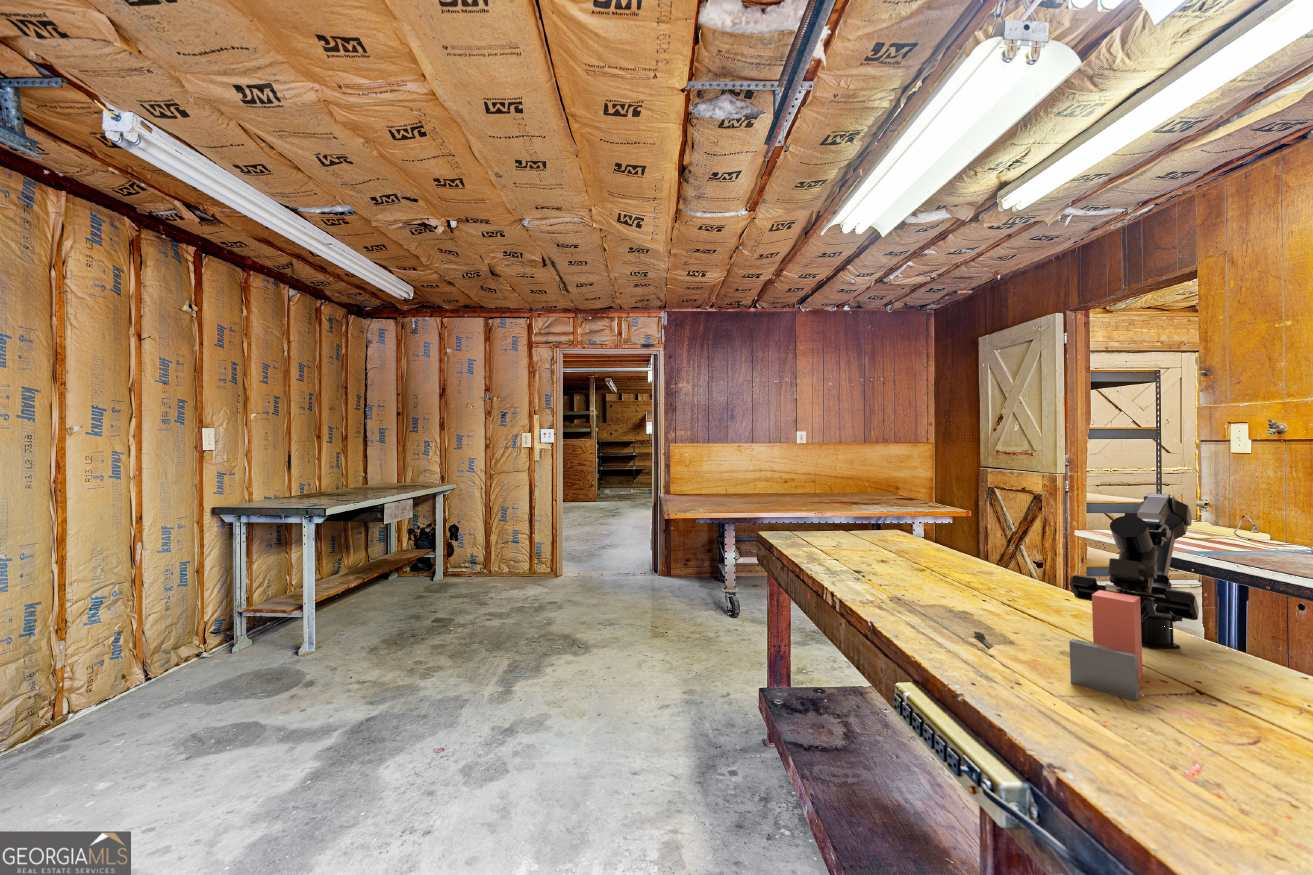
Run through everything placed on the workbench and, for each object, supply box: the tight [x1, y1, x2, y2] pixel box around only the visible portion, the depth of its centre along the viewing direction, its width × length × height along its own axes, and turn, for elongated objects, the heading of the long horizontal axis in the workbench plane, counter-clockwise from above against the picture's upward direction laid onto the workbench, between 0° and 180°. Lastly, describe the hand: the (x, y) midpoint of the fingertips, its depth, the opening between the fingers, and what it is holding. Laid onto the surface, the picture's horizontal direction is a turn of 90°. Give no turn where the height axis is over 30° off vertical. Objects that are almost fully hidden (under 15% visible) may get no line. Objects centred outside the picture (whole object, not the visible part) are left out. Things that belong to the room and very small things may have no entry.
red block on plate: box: [1091, 590, 1144, 682], centre depth 97 cm, size 5×6×15 cm
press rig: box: [1068, 638, 1145, 703], centre depth 95 cm, size 14×10×9 cm
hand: (1123, 631), depth 100 cm, fingers closed
